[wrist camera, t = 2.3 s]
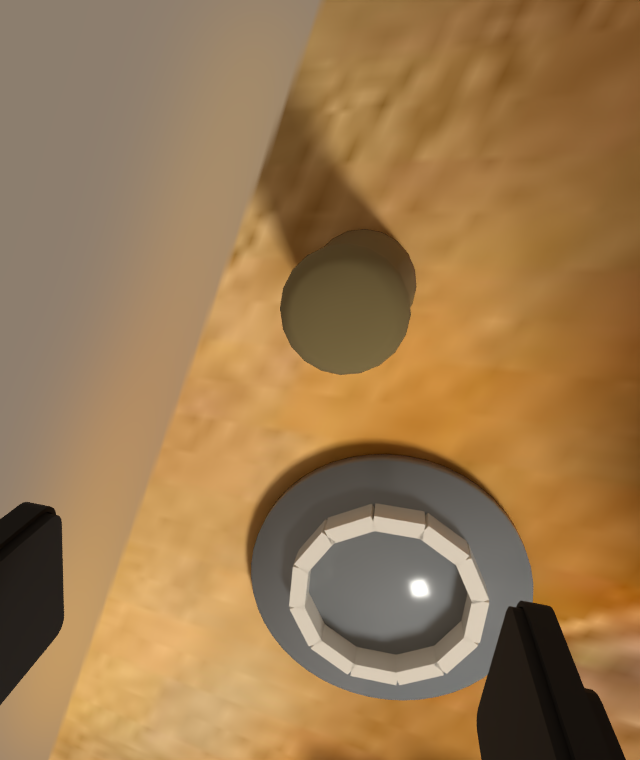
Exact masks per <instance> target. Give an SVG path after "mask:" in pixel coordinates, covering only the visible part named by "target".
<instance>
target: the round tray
mask: <svg viewBox="0 0 640 760" xmlns="http://www.w3.org/2000/svg"><path fill="white" fill-rule="evenodd" d="M251 579H252V586H253V593H254V597H255V600H256V603H257V607H258V610H259V612H260V614H261V616H262V618H263V621H264V623H265V624H266V626H267V628H268V629H269V631H270V632H271V634H272V636H273V637H274V638H275V640H276V641H277V642H278V643H279V645H280V646H281V647H282V648H283V649H284V650H285V651H286V652H287V653H288V654H289V655H290V656H291V657H292V658H293V659H294V660H295V661H296V662H298V663H299V664H300V665H301V666H303V667H304V668H305V669H306V670H308V671H309V672H311V673H313V674H314V675H316V676H317V677H319V678H320V679H322V680H324V681H326V682H328V683H330V684H332V685H334V686H337V687H339V688H342V689H345V690H347V691H350V692H353V693H357V694H360V695H364V696H368V697H374V698H380V699H388V700H418V699H426V698H432V697H438V696H441V695H445V694H449V693H452V692H455V691H458V690H460V689H463V688H465V687H467V686H470V685H471V684H473V683H475V682H477V681H479V680H480V679H482V678H484V677H485V676H486V675H488V672H489V669H490V665H491V662H492V658H493V655H494V651H495V648H496V645H497V641H498V638H499V634H500V631H501V627H502V624H503V620H504V617H505V613H506V610H507V608H508V607H509V606H512V607H516V606H517V604H518V603H519V601H527V602H533V579H532V572H531V566H530V563H529V560H528V557H527V553H526V550H525V548H524V545H523V542H522V540H521V538H520V536H519V534H518V532H517V530H516V528H515V526H514V524H513V523H512V521H511V520H510V518H509V517H508V515H507V514H506V512H505V511H504V510H503V509H502V508H501V506H500V505H499V504H498V503H497V502H496V501H495V500H494V499H493V498H492V497H491V496H490V495H489V494H488V493H486V492H485V491H484V490H483V489H482V488H481V487H479V486H478V485H477V484H475V483H474V482H472V481H471V480H469V479H467V478H466V477H464V476H463V475H461V474H459V473H457V472H455V471H453V470H451V469H449V468H447V467H445V466H442V465H439V464H436V463H433V462H430V461H427V460H423V459H419V458H414V457H409V456H402V455H391V454H374V455H363V456H356V457H350V458H346V459H342V460H339V461H335V462H332V463H330V464H327V465H325V466H322V467H320V468H318V469H316V470H314V471H312V472H311V473H309V474H307V475H305V476H304V477H302V478H301V479H299V480H298V481H297V482H296V483H294V484H293V485H292V486H291V487H289V488H288V489H287V490H286V491H285V492H284V494H283V495H282V496H281V497H280V498H279V499H278V500H277V501H276V503H275V504H274V506H273V507H272V509H271V510H270V511H269V513H268V515H267V517H266V519H265V521H264V523H263V525H262V527H261V529H260V532H259V534H258V537H257V540H256V543H255V546H254V550H253V557H252V563H251Z"/></svg>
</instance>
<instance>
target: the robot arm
mask: <svg viewBox="0 0 640 760" xmlns="http://www.w3.org/2000/svg"><path fill="white" fill-rule="evenodd" d="M63 603H64V601H63V559H62V522H61V518H60V516H58V515H56V512H55V510H54V508H52V507H50V506H45V505H40V504H34V503H30V502H24V503H22V504H20V505H19V506H17V507H16V508H15V509H13V510H12V511H11V512H9V513H8V514H7V515H5V516H4V517H3V518H1V519H0V705H1V704H2V702H3V701H4V700H5V699H6V697H7V696H8V695H9V694H10V693H11V691H12V690H13V689H14V688H15V686H16V685H17V684H18V683H19V682H20V680H21V679H22V678H23V676H24V675H25V674H26V673H27V672H28V671H29V669H30V668H31V667H32V666H33V665H34V663H35V662H36V661H37V660H38V658H39V657H40V656H41V655H42V653H43V652H44V651H45V650H46V649H47V647H48V646H49V645H50V644H51V643H52V641H53V640H54V639H55V638H56V636H57V635H58V633H59V631H60V630H61V627H62V624H63V620H64V604H63ZM477 733H478V739H479V746H480V752H481V759H482V760H626V759H625V757H624V754H623V752H622V749H621V747H620V745H619V742H618V740H617V737H616V735H615V733H614V730H613V728H612V726H611V723H610V721H609V718H608V716H607V714H606V711H605V709H604V706H603V704H602V702H601V700H600V698H599V696H598V695H597V694H596V693H595V692H594V691H593V690H591V689H586V688H584V686H583V684H582V681H581V679H580V676H579V673H578V671H577V668H576V666H575V663H574V661H573V658H572V656H571V653H570V651H569V648H568V646H567V643H566V641H565V638H564V635H563V633H562V630H561V628H560V625H559V623H558V620H557V618H556V615H555V613H554V611H553V609H552V607H550V606H547V605H542V604H537V603H532V602H527V601H519V603H518V604H517V606H516V607H512V606H509V607H508V608H507V610H506V613H505V617H504V620H503V624H502V627H501V631H500V634H499V638H498V641H497V645H496V648H495V651H494V655H493V658H492V662H491V665H490V669H489V672H488V676H487V679H486V683H485V686H484V690H483V693H482V697H481V700H480V704H479V707H478V712H477Z"/></svg>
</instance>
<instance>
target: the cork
mask: <svg viewBox="0 0 640 760" xmlns="http://www.w3.org/2000/svg"><path fill="white" fill-rule="evenodd" d="M415 291H416V276H415V269H414V266H413V264H412V262H411V259H410V257H409V254H408V253H407V252H406V251H405V250H404V249H403V247H402V246H401V245H400V244H399V243H398V242H397V241H396V240H394V239H393V238H391V237H389V236H387V235H386V234H384V233H382V232H377V231H372V230H367V229H362V230H354V231H348V232H346V233H344V234H342V235H339V236H337V237H335V238H333V239H332V240H331V241H330V242H329V243H328V244H327V245H326V246H325V247H324V248H322V249H320V250H317V251H315V252H313V253H311V254H309V255H307V256H306V257H305V258H304V259H303V260H302V261H301V262H300V263H299V264H298V265H297V266H296V267H295V268H294V269H293V270H292V272H291V274H290V276H289V278H288V280H287V282H286V284H285V286H284V288H283V293H282V299H281V306H280V311H281V318H282V325H283V330H284V332H285V334H286V336H287V338H288V340H289V343H290V345H291V347H292V348H293V349H294V350H295V351H296V352H297V353H298V354H299V355H300V356H301V357H302V359H303V360H304V361H306V362H307V363H309V364H311V365H313V366H314V367H316V368H318V369H320V370H321V371H325V372H330V373H334V374H339V375H344V374H356V373H362V372H364V371H367V370H369V369H371V368H374V367H376V366H379V365H380V364H382V363H383V362H384V361H385V360H386V359H388V358H389V357H390V356H391V355H392V354H394V353H395V352H396V350H397V348H398V347H399V345H400V343H401V342H402V340H403V339H404V337H405V335H406V332H407V328H408V324H409V320H410V316H411V312H410V307H411V305H412V303H413V299H414V295H415Z"/></svg>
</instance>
